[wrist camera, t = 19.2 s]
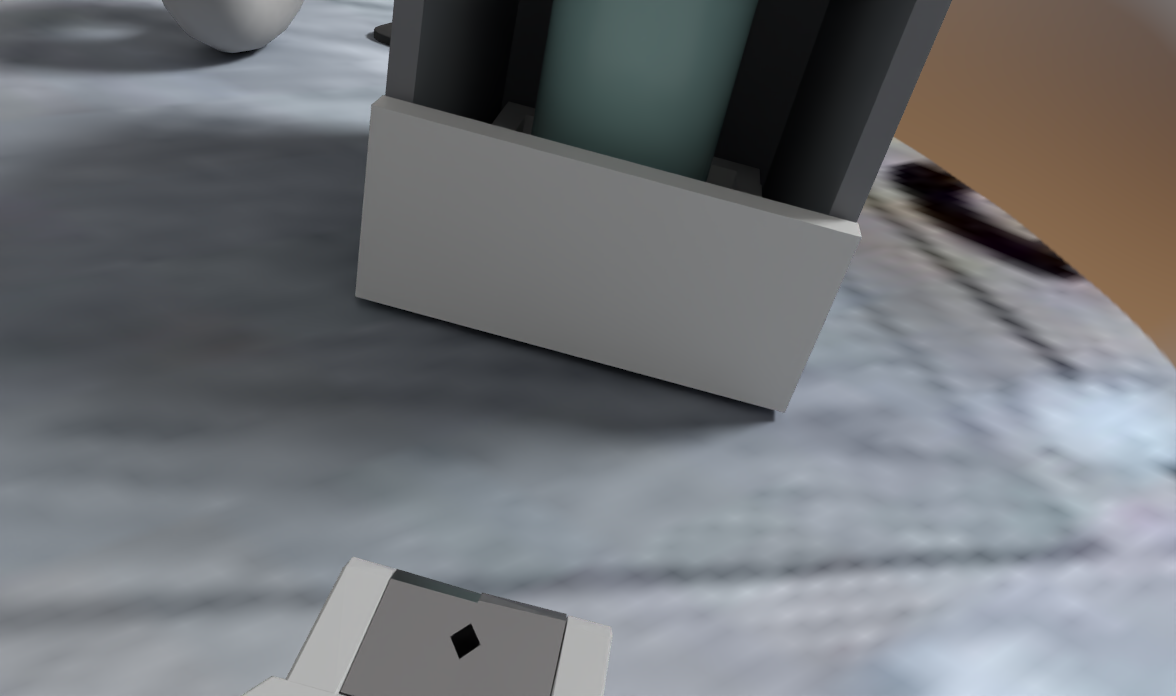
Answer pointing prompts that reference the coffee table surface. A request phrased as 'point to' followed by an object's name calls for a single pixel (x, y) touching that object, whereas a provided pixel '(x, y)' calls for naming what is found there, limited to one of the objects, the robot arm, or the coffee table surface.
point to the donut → (233, 21)
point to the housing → (760, 94)
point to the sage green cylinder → (642, 78)
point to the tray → (596, 252)
